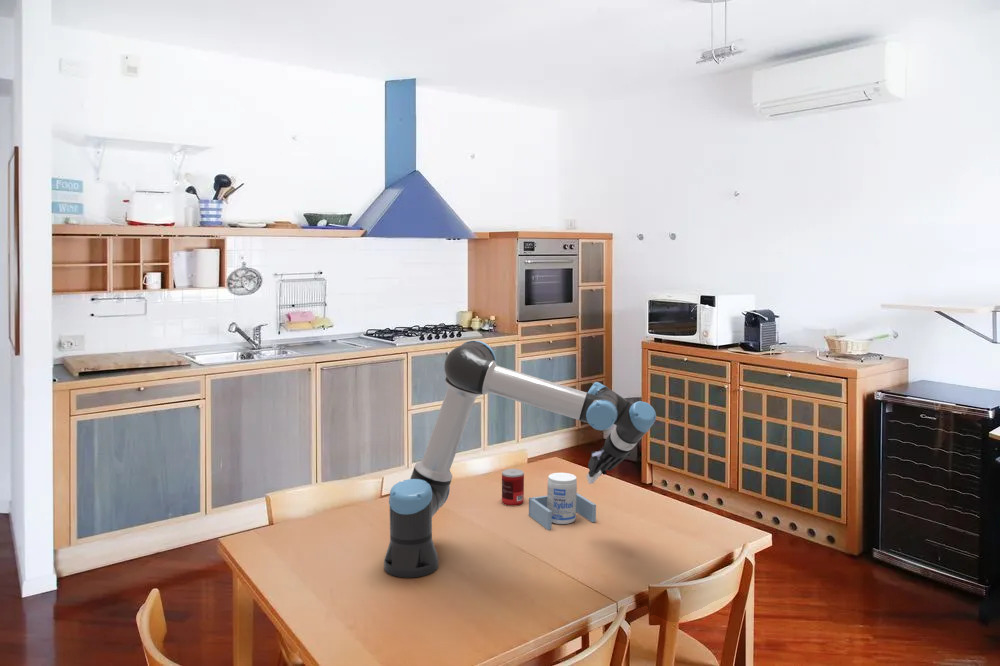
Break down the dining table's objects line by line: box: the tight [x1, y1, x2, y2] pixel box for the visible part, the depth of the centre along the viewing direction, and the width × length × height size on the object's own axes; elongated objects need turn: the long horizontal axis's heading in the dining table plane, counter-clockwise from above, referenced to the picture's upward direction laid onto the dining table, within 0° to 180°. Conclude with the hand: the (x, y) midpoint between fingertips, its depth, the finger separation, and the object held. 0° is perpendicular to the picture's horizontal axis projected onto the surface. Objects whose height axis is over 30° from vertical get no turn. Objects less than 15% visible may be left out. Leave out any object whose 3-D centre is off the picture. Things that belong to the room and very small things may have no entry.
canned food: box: [501, 468, 525, 506], centre depth 262 cm, size 8×8×11 cm
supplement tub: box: [546, 472, 578, 525], centre depth 245 cm, size 10×10×15 cm
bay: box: [528, 492, 597, 531], centre depth 246 cm, size 14×17×6 cm
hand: (589, 479), depth 230 cm, fingers closed
